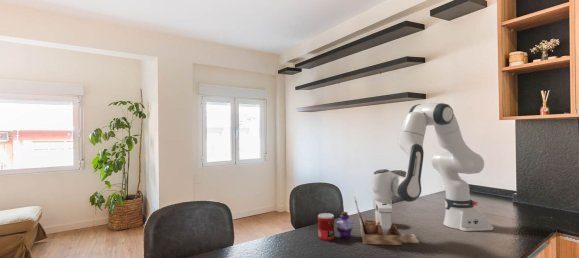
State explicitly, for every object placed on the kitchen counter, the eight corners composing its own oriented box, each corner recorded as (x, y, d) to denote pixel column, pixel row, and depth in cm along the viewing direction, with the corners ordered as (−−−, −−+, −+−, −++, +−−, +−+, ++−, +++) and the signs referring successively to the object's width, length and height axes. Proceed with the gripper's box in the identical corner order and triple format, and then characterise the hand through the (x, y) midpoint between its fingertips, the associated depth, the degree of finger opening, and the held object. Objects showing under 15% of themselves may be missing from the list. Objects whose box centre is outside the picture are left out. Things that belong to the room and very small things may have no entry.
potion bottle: (335, 233, 146) (334, 210, 146) (352, 233, 146) (351, 209, 146) (337, 240, 137) (336, 215, 138) (355, 240, 137) (355, 214, 137)
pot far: (375, 232, 145) (375, 219, 145) (377, 236, 140) (376, 222, 140) (364, 231, 146) (363, 218, 146) (365, 235, 141) (364, 222, 141)
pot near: (388, 235, 141) (388, 221, 141) (390, 239, 135) (390, 225, 135) (376, 234, 142) (376, 221, 142) (378, 239, 136) (377, 224, 136)
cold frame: (395, 233, 145) (394, 193, 145) (402, 245, 130) (400, 201, 130) (354, 232, 148) (353, 193, 148) (356, 243, 133) (355, 200, 133)
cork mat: (413, 235, 141) (413, 234, 141) (419, 243, 131) (419, 241, 131) (398, 234, 142) (398, 233, 142) (403, 242, 133) (403, 241, 133)
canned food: (330, 241, 136) (330, 218, 136) (315, 238, 140) (315, 216, 140) (337, 236, 142) (336, 214, 142) (322, 234, 146) (321, 212, 147)
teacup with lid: (396, 226, 155) (395, 204, 155) (380, 227, 153) (380, 205, 153) (384, 219, 167) (383, 199, 167) (369, 221, 165) (369, 200, 165)
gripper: (372, 198, 149) (373, 225, 149) (378, 209, 129) (379, 240, 129) (385, 198, 148) (386, 225, 148) (393, 209, 128) (394, 240, 128)
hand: (383, 232), depth 138 cm, fingers open, 8 cm apart
